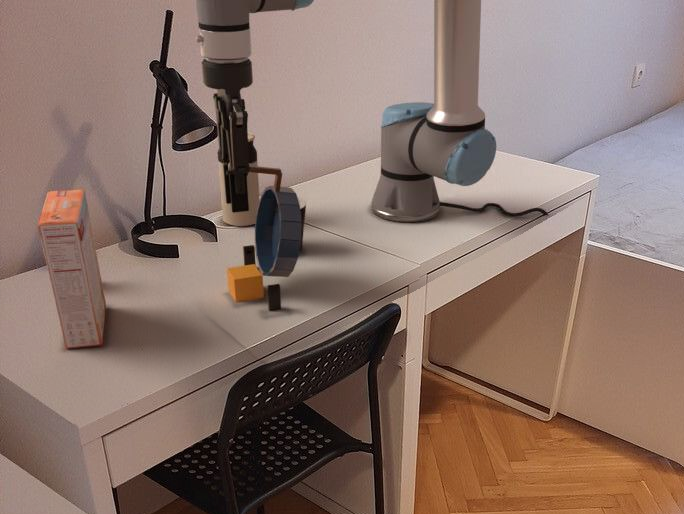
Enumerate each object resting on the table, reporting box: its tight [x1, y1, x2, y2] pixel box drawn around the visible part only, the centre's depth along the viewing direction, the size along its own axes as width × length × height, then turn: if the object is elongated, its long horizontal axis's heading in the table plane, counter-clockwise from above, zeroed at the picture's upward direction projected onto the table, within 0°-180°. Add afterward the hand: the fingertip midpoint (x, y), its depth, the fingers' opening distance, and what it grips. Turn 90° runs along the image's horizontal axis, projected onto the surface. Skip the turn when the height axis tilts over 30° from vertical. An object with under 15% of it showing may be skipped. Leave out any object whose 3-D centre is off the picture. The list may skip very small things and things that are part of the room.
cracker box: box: [37, 189, 107, 350], centre depth 127 cm, size 14×6×21 cm, turn 13°
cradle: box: [242, 244, 282, 312], centre depth 145 cm, size 4×19×5 cm, turn 22°
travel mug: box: [216, 131, 260, 227], centre depth 170 cm, size 8×8×18 cm
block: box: [226, 264, 265, 303], centre depth 142 cm, size 5×5×5 cm
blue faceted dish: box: [228, 162, 302, 278], centre depth 138 cm, size 20×15×12 cm
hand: (237, 206), depth 136 cm, fingers closed on blue faceted dish, 4 cm apart
